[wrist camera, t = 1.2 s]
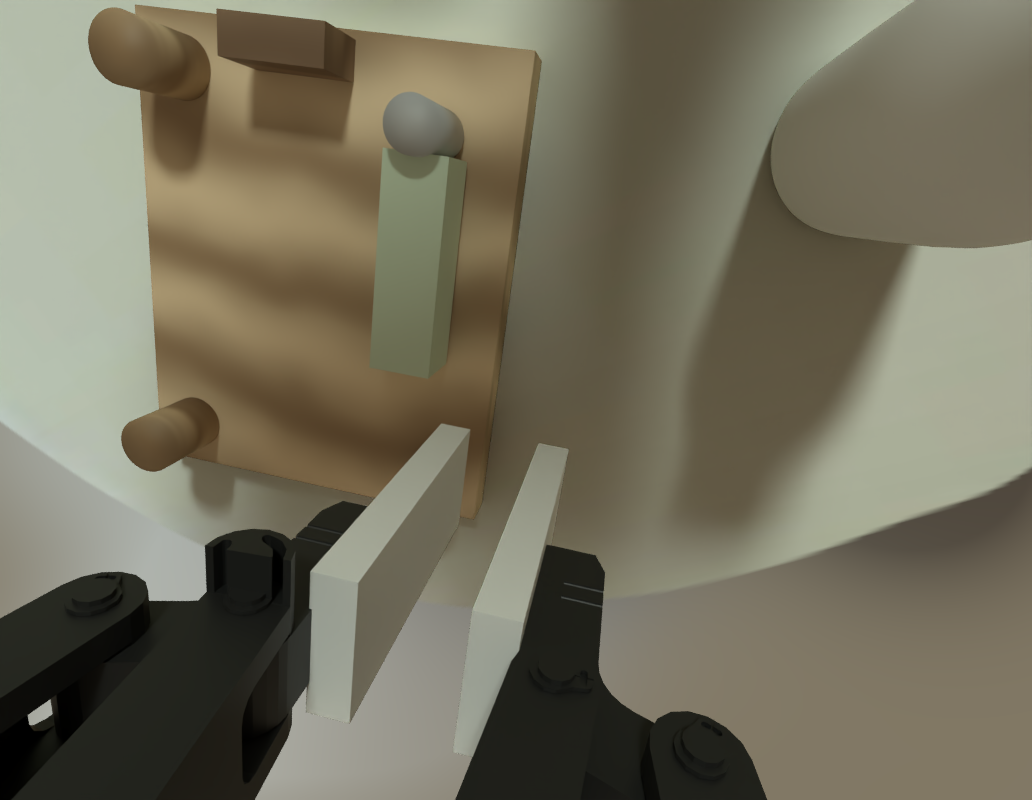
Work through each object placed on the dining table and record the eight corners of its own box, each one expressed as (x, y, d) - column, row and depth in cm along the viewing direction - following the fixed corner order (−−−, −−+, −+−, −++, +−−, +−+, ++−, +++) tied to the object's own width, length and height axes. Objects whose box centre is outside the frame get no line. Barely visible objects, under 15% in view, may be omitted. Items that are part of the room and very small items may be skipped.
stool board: (164, 16, 31) (62, -26, 26) (541, 61, 29) (519, 25, 23) (184, 439, 39) (108, 478, 33) (482, 503, 36) (454, 557, 31)
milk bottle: (797, 262, 29) (1091, 357, 11) (744, 106, 28) (977, -108, 9) (972, 190, 27) (1735, 151, 8) (925, 16, 26) (1734, -512, 7)
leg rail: (411, 103, 28) (377, 87, 24) (473, 111, 28) (448, 96, 24) (392, 353, 32) (361, 372, 28) (446, 363, 32) (421, 383, 28)
